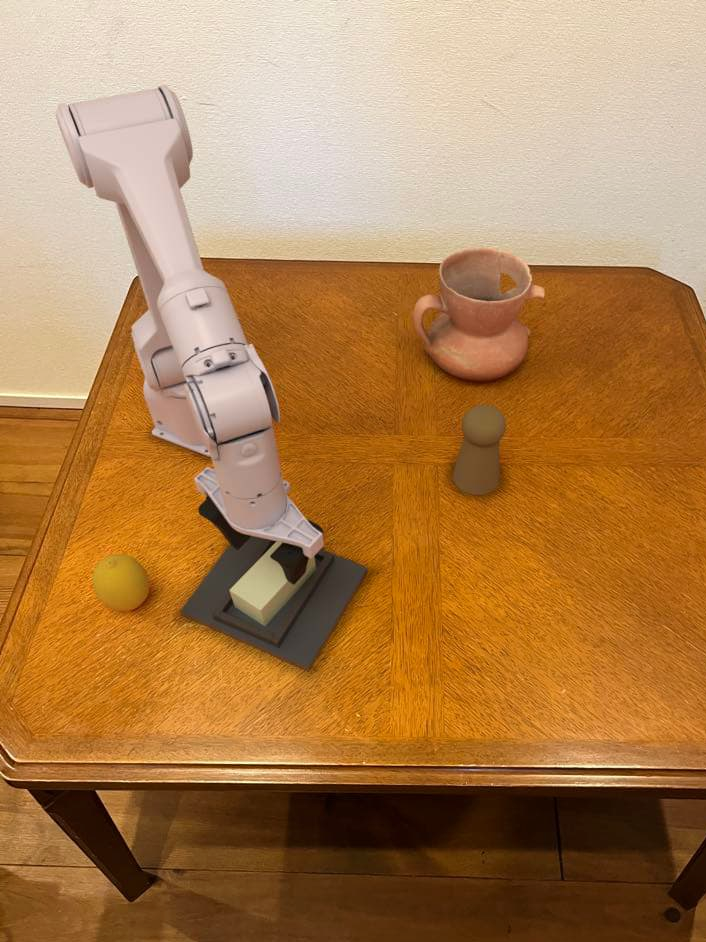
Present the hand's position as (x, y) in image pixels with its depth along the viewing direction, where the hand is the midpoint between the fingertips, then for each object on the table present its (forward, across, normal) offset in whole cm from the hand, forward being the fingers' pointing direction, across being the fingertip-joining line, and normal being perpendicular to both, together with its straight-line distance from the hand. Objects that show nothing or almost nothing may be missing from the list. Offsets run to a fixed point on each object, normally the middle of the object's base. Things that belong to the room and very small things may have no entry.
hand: (269, 559), depth 78 cm
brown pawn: (+7, -10, -28) cm, 30 cm away
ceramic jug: (+7, +3, -47) cm, 48 cm away
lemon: (+7, +12, +10) cm, 18 cm away
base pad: (+7, 0, 0) cm, 7 cm away
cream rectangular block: (+6, 0, 0) cm, 6 cm away
